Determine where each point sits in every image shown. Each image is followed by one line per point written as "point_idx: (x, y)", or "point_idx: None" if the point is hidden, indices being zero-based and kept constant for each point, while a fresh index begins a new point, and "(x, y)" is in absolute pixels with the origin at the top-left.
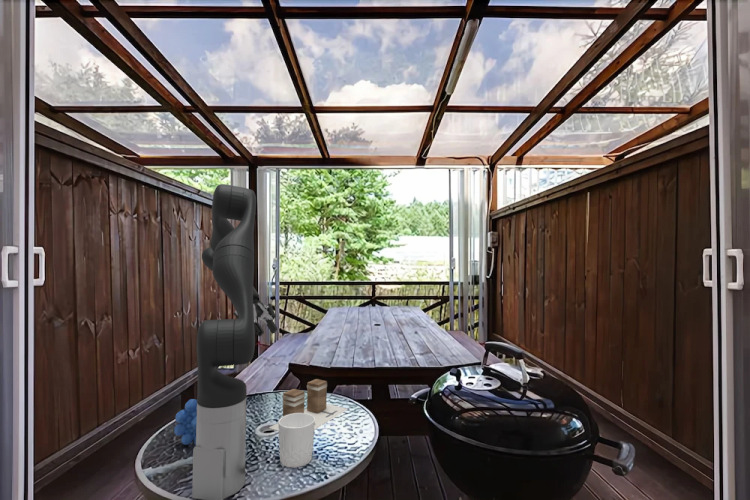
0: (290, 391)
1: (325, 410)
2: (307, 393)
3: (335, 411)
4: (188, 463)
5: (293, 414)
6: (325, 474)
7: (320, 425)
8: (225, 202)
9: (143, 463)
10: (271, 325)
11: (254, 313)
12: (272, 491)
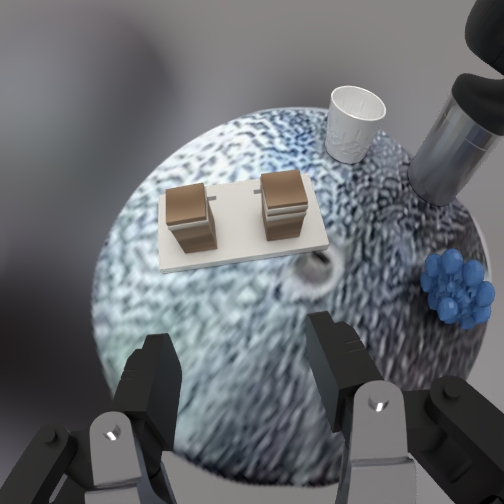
0: (287, 196)
1: None
2: (210, 229)
3: None
4: None
5: (352, 116)
6: (327, 117)
7: (251, 180)
8: None
9: None
10: (162, 385)
11: (386, 488)
12: (388, 137)
